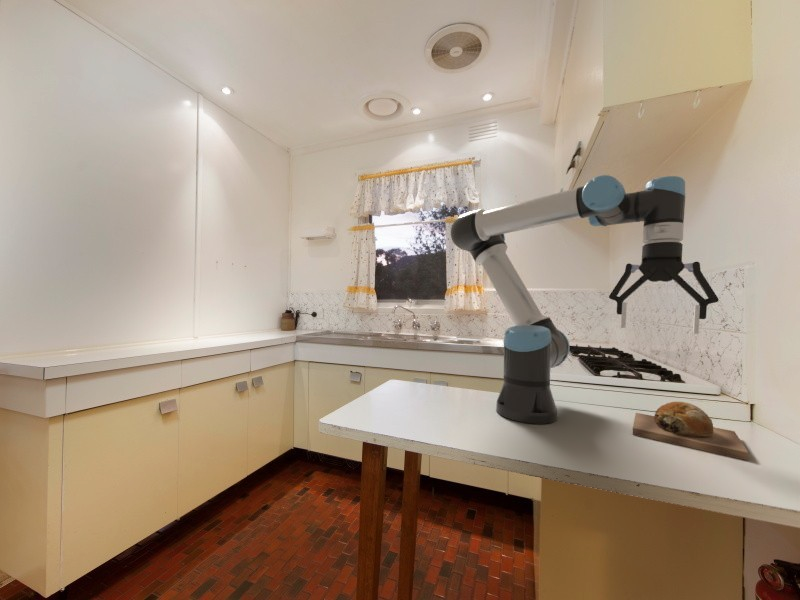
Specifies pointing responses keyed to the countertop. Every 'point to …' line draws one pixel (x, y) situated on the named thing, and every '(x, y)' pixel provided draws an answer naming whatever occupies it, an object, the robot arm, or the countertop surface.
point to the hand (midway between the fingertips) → (657, 330)
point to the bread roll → (684, 419)
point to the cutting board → (692, 438)
